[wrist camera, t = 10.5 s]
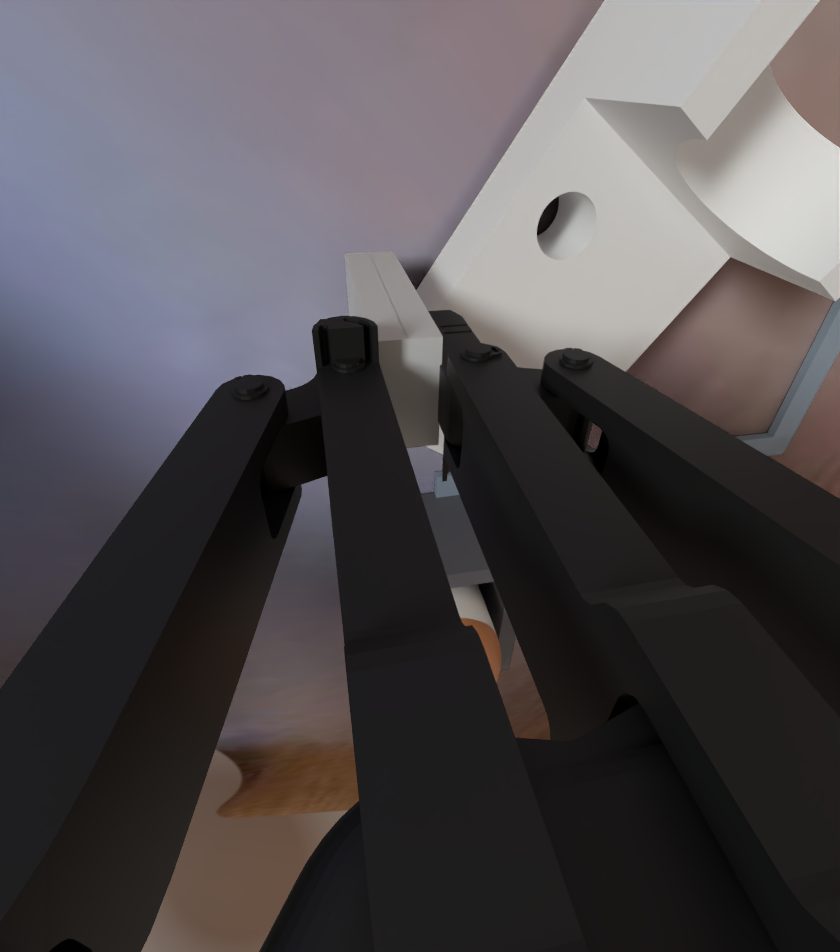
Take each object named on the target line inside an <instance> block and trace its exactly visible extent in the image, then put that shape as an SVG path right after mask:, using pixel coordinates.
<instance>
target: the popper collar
mask: <svg viewBox="0 0 840 952" xmlns="http://www.w3.org/2000/svg"><path fill="white" fill-rule="evenodd" d="M421 496H422V499H423V503H424V506H425V509H426V512H427V515H428V518H429V522H430V525H431V528H432V531H433V534H434V537H435V540H436V544H437V547H438V550H439V553H440V556H441V559H442V562H443V566H444V569H445V572H446V575H447V578H448V581H449V584H450V588H456V587H462V586H469V585H475V584H478V586H479V589H480V591H481V594H482V597H483V599H484V602H485V605H486V607H487V610H488V613H489V615H490V618H491V621H492V623H493V626H494V629H495V631H496V634H497V637H498V640H499V643H500V649H501V670H506V669H509V665H510V661H511V656H512V651H513V646H514V642H515V637H516V635H515V632H514V630H513V627H512V625H511V622H510V620H509V617H508V615H507V612H506V610H505V607H504V605H503V602H502V600H501V597H500V595H499V592H498V590H497V587H496V585H495V582H494V580H493V577H492V575H491V572H490V570H489V567H488V565H487V562H486V560H485V557H484V555H483V552H482V550H481V547H480V545H479V542H478V540H477V537H476V535H475V532H474V530H473V528H472V525H471V523H470V520H469V518H468V515H467V513H466V510H465V508H464V505H463V503H462V500H461V498H460V495H454V496H447V497H439V498H436V495H435V492H433V493H425V494H421ZM330 508H331V505H330ZM331 518H332V515H331ZM332 527H333V525H332ZM333 537H334V535H333ZM334 546H335V545H334ZM335 556H336V554H335ZM336 566H337V564H336ZM337 575H338V574H337ZM338 585H339V584H338ZM501 670H500V671H501Z"/></svg>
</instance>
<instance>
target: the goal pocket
mask: <svg viewBox="0 0 840 952" xmlns="http://www.w3.org/2000/svg"><path fill="white" fill-rule="evenodd" d="M839 351H840V298H839V299H838V300H837V301H834V302H833V304H832V306H831V308H830V310H829V312H828V314H827V316H826V318H825V320H824V322H823V324H822V326H821V328H820V330H819V332H818V334H817V336H816V338H815V340H814V342H813V344H812V346H811V348H810V350H809V352H808V354H807V356H806V358H805V360H804V362H803V364H802V366H801V368H800V369H799V371H798V373H797V375H796V377H795V379H794V381H793V383H792V385H791V387H790V389H789V391H788V393H787V395H786V397H785V399H784V401H783V403H782V405H781V407H780V409H779V411H778V413H777V415H776V417H775V419H774V421H773V423H772V425H771V427H770V429H769V431H768V433H761V434H752V435H744V436H735V437H736V438H738V439H739V440H741V441H743V442H744V443H746V444H748V445H750V446H751V447H753V448H755V449H756V450H758V451H760V452H761V453H763V454H765V455H766V456H772V455H780V454H784V452H785V450H786V448H787V446H788V445H789V443H790V441H791V439H792V437H793V435H794V434H795V432H796V430H797V428H798V426H799V424H800V423H801V421H802V419H803V417H804V415H805V413H806V412H807V410H808V408H809V406H810V404H811V402H812V401H813V399H814V397H815V395H816V393H817V391H818V390H819V388H820V386H821V384H822V382H823V380H824V379H825V377H826V375H827V373H828V371H829V369H830V368H831V366H832V364H833V362H834V360H835V358H836V357H837V355H838V353H839ZM435 495H436V498H439V497H447V496H454V495H459V493H458V490H457V488H456V485H455V483H454V480H453V478H452V475H451V473H450V472H449V473H448V474H447V481H443V482H442V471H438V472H435Z"/></svg>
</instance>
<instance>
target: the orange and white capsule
mask: <svg viewBox="0 0 840 952" xmlns="http://www.w3.org/2000/svg"><path fill="white" fill-rule="evenodd" d="M451 591H452V594H453V597H454V600H455V603H456V607H457V610H458V613H459V616H460V618H461V621H462V623H463V624H464V625H465V626H469V625H472V626H473V627H474V628H475V630H476V631H477V632H478V634H479V637H480V639H481V641H482V644H483V646H484V649H485V652H486V654H487V657H488V660H489V663H490V666H491V669H492V672H493V675H494V678H495V681H496V684H497V682H498V679H499V675H500V670H501V649H500V643H499V640H498V637H497V634H496V631H495V629H494V626H493V623H492V621H491V618H490V615H489V613H488V610H487V607H486V605H485V602H484V599H483V597H482V594H481V591H480V589H479V586H478V584H475V585H469V586H462V587H456V588H451Z"/></svg>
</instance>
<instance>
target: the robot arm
mask: <svg viewBox="0 0 840 952" xmlns="http://www.w3.org/2000/svg"><path fill="white" fill-rule="evenodd" d="M345 264H346V277H347V290H348V304H349V316H338V317H331V318H328V319H320V320H319V321H318V322H317V323H316V324H315V325H314V326H313V329H312V336H313V344H314V352H315V360H316V368H317V374H316V375H315V377H314V378H313V379H312V380H311V381H309V382H308V383H306V384H304V385H302V386H300V387H297V388H294V389H290V390H286V391H285V387H284V384H283V383H282V382H281V381H280V380H278V379H276V378H274V377H271V376H263V375H244V376H243V377H241V376H239V377H236V378H234V379H232V380H230V381H228V382H226V383H224V384H222V385H221V386H220V387H219V388H218V389H217V390H216V391H215V392H214V394H213V395H212V396H211V398H210V399H209V401H208V402H207V403H206V405H205V406H204V407H203V409H202V410H201V412H200V413H199V414H198V416H197V417H196V419H195V420H194V421H193V423H192V424H191V426H190V427H189V428H188V430H187V431H186V432H185V434H184V435H183V437H182V438H181V439H180V441H179V442H178V444H177V445H176V446H175V448H174V449H173V450H172V452H171V453H170V455H169V456H168V457H167V459H166V460H165V462H164V463H163V464H162V466H161V467H160V468H159V470H158V471H157V473H156V474H155V475H154V477H153V478H152V480H151V481H150V482H149V484H148V485H147V487H146V488H145V489H144V491H143V492H142V493H141V495H140V496H139V498H138V499H137V500H136V502H135V503H134V505H133V506H132V507H131V509H130V510H129V511H128V513H127V514H126V516H125V517H124V518H123V520H122V521H121V523H120V524H119V525H118V527H117V528H116V529H115V531H114V532H113V534H112V535H111V536H110V538H109V539H108V541H107V542H106V543H105V545H104V546H103V548H102V549H101V550H100V552H99V553H98V554H97V556H96V557H95V559H94V560H93V561H92V563H91V564H90V566H89V567H88V568H87V570H86V571H85V572H84V574H83V575H82V577H81V578H80V579H79V581H78V582H77V584H76V585H75V586H74V588H73V589H72V591H71V592H70V593H69V595H68V596H67V597H66V599H65V600H64V602H63V603H62V604H61V606H60V607H59V609H58V610H57V611H56V613H55V614H54V615H53V617H52V618H51V620H50V621H49V622H48V624H47V625H46V627H45V628H44V629H43V631H42V632H41V633H40V635H39V636H38V638H37V639H36V640H35V642H34V643H33V645H32V646H31V647H30V649H29V650H28V652H27V653H26V654H25V656H24V657H23V658H22V660H21V661H20V663H19V664H18V665H17V667H16V668H15V670H14V671H13V672H12V674H11V675H10V676H9V678H8V679H7V681H6V682H5V683H4V685H3V686H2V688H1V689H0V952H141V950H142V948H143V946H144V944H145V942H146V940H147V938H148V936H149V934H150V932H151V929H152V926H153V924H154V921H155V919H156V916H157V913H158V911H159V908H160V906H161V903H162V901H163V898H164V896H165V893H166V890H167V887H168V885H169V883H170V880H171V877H172V874H173V872H174V869H175V865H176V863H177V860H178V857H179V854H180V851H181V848H182V845H183V842H184V839H185V836H186V833H187V830H188V828H189V825H190V822H191V819H192V816H193V813H194V810H195V807H196V804H197V801H198V798H199V795H200V792H201V789H202V787H203V783H204V781H205V778H206V775H207V772H208V768H209V766H210V763H211V760H212V757H213V754H214V751H215V748H216V745H217V742H218V739H219V737H220V734H221V731H222V728H223V725H224V722H225V719H226V716H227V713H228V710H229V707H230V704H231V701H232V698H233V695H234V692H235V689H236V687H237V684H238V681H239V678H240V675H241V672H242V669H243V666H244V663H245V660H246V657H247V654H248V651H249V648H250V645H251V642H252V639H253V637H254V634H255V631H256V628H257V625H258V622H259V619H260V616H261V613H262V610H263V607H264V604H265V601H266V598H267V595H268V592H269V589H270V587H271V584H272V581H273V578H274V575H275V572H276V569H277V566H278V563H279V560H280V557H281V554H282V551H283V548H284V545H285V542H286V540H287V537H288V534H289V531H290V528H291V525H292V522H293V519H294V516H295V513H296V510H297V507H298V504H299V501H300V498H301V493H302V488H301V484H304V483H307V482H310V481H313V480H316V479H319V478H322V477H325V476H328V486H329V496H330V505H331V515H332V525H333V535H334V545H335V554H336V564H337V574H338V584H339V594H340V603H341V613H342V623H343V633H344V644H345V646H344V651H345V663H346V673H347V683H348V693H349V703H350V713H351V723H352V733H353V743H354V753H355V763H356V773H357V783H358V793H359V801H358V802H357V803H356V804H355V805H354V806H353V807H352V808H351V809H350V810H348V811H347V812H346V813H345V814H344V815H343V816H342V817H341V818H340V819H339V820H338V821H337V823H336V824H335V825H334V826H333V827H332V828H331V829H330V831H329V832H328V833H327V834H326V835H325V836H324V838H323V839H322V840H321V842H320V843H319V845H318V846H317V848H316V849H315V851H314V852H313V854H312V855H311V856H310V858H309V860H308V861H307V863H306V864H305V866H304V868H303V870H302V871H301V873H300V875H299V877H298V879H297V880H296V882H295V884H294V886H293V888H292V890H291V892H290V894H289V896H288V898H287V900H286V901H285V904H284V905H283V907H282V909H281V911H280V913H279V915H278V917H277V919H276V921H275V923H274V924H273V926H272V928H271V930H270V932H269V934H268V936H267V938H266V940H265V942H264V944H263V945H262V947H261V949H260V951H259V952H840V499H839V498H837V497H835V496H834V495H832V494H830V493H829V492H827V491H825V490H824V489H822V488H820V487H819V486H817V485H815V484H814V483H812V482H810V481H808V480H807V479H805V478H803V477H802V476H800V475H798V474H797V473H795V472H793V471H792V470H790V469H788V468H787V467H785V466H783V465H782V464H780V463H778V462H776V461H775V460H773V459H771V458H770V457H768V456H766V455H765V454H763V453H761V452H760V451H758V450H756V449H755V448H753V447H751V446H750V445H748V444H746V443H744V442H743V441H741V440H739V439H738V438H736V437H734V436H733V435H731V434H729V433H728V432H726V431H724V430H723V429H721V428H719V427H718V426H716V425H714V424H712V423H711V422H709V421H707V420H706V419H704V418H702V417H701V416H699V415H697V414H696V413H694V412H692V411H691V410H689V409H687V408H685V407H684V406H682V405H680V404H679V403H677V402H675V401H674V400H672V399H670V398H669V397H667V396H665V395H664V394H662V393H660V392H659V391H657V390H655V389H653V388H652V387H650V386H648V385H647V384H645V383H643V382H642V381H640V380H638V379H637V378H635V377H633V376H632V375H630V374H628V373H627V372H625V371H623V370H621V369H620V368H618V367H616V366H615V365H613V364H611V363H610V362H608V361H606V360H605V359H603V358H601V357H600V356H597V355H595V354H593V353H591V352H587V351H583V350H582V349H579V348H574V349H573V348H565V349H559V350H554V351H552V352H549V353H548V354H547V355H546V356H545V357H544V362H543V368H542V369H532V368H521V367H517V366H516V365H515V363H514V362H513V361H512V360H511V358H510V357H509V356H508V354H507V353H506V352H505V351H503V350H502V349H501V348H499V347H497V346H493V345H489V344H484V343H481V342H480V341H479V339H478V338H477V337H476V335H475V334H474V332H472V330H471V328H470V327H469V326H468V324H467V323H466V321H465V320H464V318H463V317H462V316H461V315H459V314H457V313H455V312H453V311H451V310H438V311H428V310H427V309H426V307H425V305H424V303H423V302H422V300H421V298H420V297H419V295H418V293H417V291H416V290H415V288H414V286H413V285H412V283H411V281H410V279H409V278H408V276H407V274H406V273H405V271H404V269H403V267H402V266H401V264H400V262H399V261H398V259H397V257H396V255H395V254H394V252H393V251H390V252H366V253H345ZM592 423H594V424H595V425H597V426H598V427H599V428H600V429H601V430H602V434H601V437H600V441H599V445H598V447H597V449H596V450H595V449H594V448H592V447H591V446H589V445H588V444H587V442H588V439H589V435H590V431H591V427H592ZM439 425H440V427H441V430H442V432H443V434H444V447H443V468H442V482H443V481H447V474H448V473H449V472H450V473H451V475H452V478H453V480H454V483H455V485H456V488H457V490H458V493H459V495H460V498H461V500H462V503H463V505H464V508H465V510H466V513H467V515H468V518H469V520H470V523H471V525H472V528H473V530H474V532H475V535H476V537H477V540H478V542H479V545H480V547H481V550H482V552H483V555H484V557H485V560H486V562H487V565H488V567H489V570H490V572H491V575H492V577H493V580H494V582H495V585H496V587H497V590H498V592H499V595H500V597H501V600H502V602H503V605H504V607H505V610H506V612H507V615H508V617H509V620H510V622H511V625H512V627H513V630H514V632H515V635H516V637H517V640H518V642H519V645H520V647H521V650H522V652H523V655H524V657H525V660H526V662H527V665H528V667H529V670H530V672H531V675H532V677H533V680H534V682H535V685H536V687H537V690H538V692H539V695H540V697H541V700H542V702H543V704H544V707H545V710H546V713H547V716H548V721H549V725H550V736H551V740H540V739H525V738H515V736H514V733H513V730H512V727H511V724H510V722H509V719H508V716H507V713H506V710H505V707H504V704H503V701H502V698H501V695H500V692H499V689H498V687H497V684H496V681H495V678H494V675H493V672H492V669H491V666H490V663H489V660H488V657H487V654H486V652H485V649H484V646H483V644H482V641H481V639H480V637H479V634H478V632H477V631H476V630H475V628H474V627H473V626H472V625H469V626H465V625H464V624H463V623H462V621H461V618H460V616H459V613H458V610H457V607H456V603H455V600H454V597H453V594H452V591H451V588H450V584H449V581H448V578H447V575H446V572H445V569H444V566H443V562H442V559H441V556H440V553H439V550H438V547H437V544H436V540H435V537H434V534H433V531H432V528H431V525H430V522H429V518H428V515H427V512H426V509H425V506H424V503H423V499H422V496H421V493H420V490H419V487H418V484H417V481H416V477H415V474H414V471H413V468H412V465H411V462H410V459H409V455H408V452H407V449H406V448H412V447H421V446H430V445H439Z"/></svg>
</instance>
